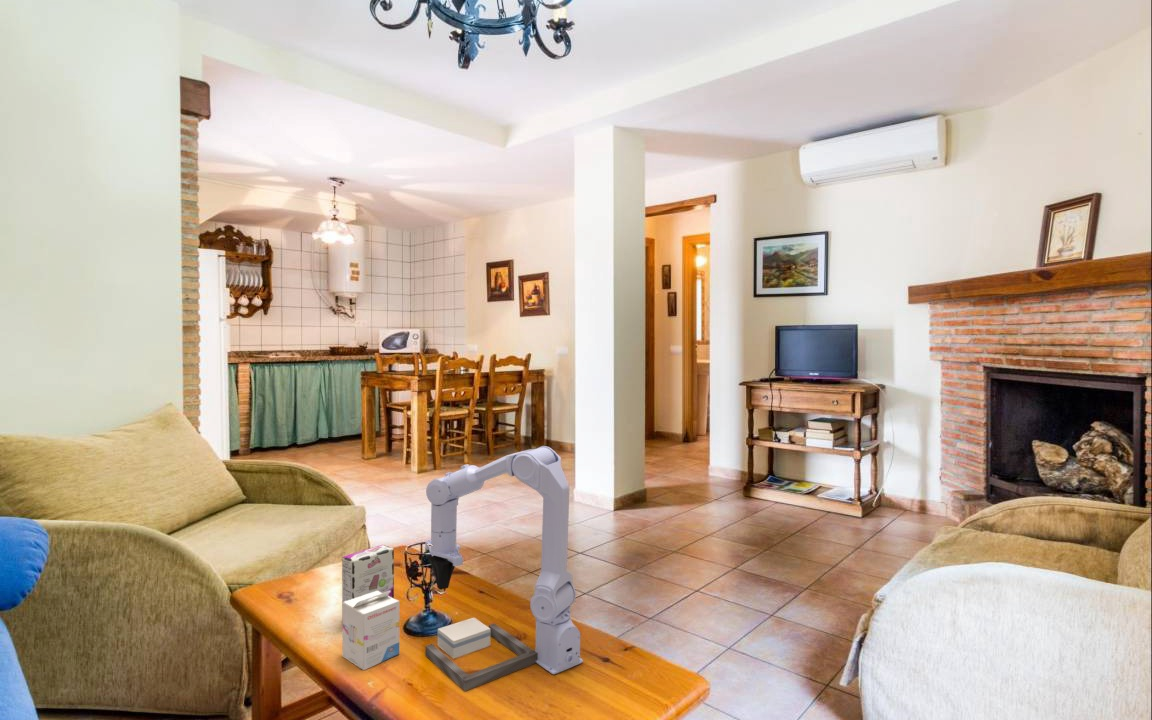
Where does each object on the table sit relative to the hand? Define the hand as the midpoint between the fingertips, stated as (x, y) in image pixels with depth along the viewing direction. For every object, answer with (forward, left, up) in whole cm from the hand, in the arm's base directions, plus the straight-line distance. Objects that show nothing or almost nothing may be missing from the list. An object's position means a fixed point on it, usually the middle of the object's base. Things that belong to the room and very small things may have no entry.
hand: (442, 588), depth 140 cm
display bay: (-18, 0, -9) cm, 20 cm away
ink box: (-2, +17, -10) cm, 20 cm away
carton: (-10, 0, -10) cm, 14 cm away
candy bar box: (+14, +12, -10) cm, 21 cm away
